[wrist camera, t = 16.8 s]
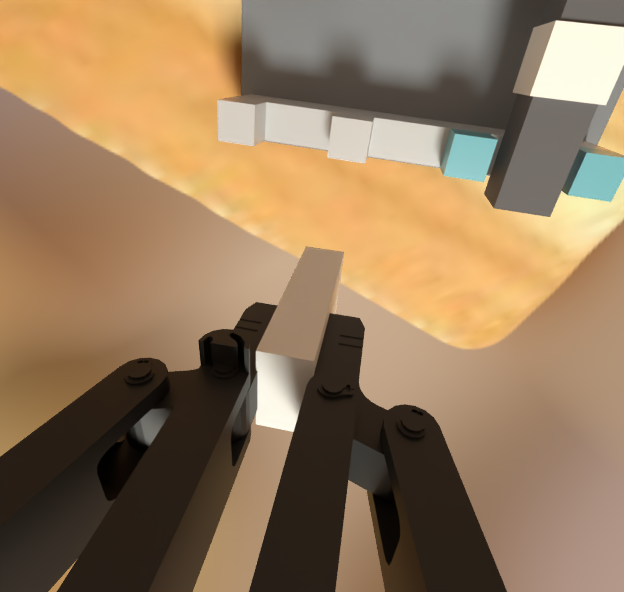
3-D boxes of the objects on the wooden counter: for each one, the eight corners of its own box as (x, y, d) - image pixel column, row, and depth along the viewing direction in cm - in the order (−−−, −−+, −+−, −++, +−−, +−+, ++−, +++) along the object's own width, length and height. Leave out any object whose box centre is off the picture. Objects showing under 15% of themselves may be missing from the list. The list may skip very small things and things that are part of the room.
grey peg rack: (248, -108, 31) (197, -167, 23) (689, -72, 27) (802, -127, 20) (243, 135, 40) (206, 151, 32) (572, 186, 37) (618, 217, 29)
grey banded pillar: (583, -126, 23) (620, -165, 19) (667, -121, 23) (722, -160, 19) (479, 192, 33) (490, 208, 29) (536, 200, 32) (555, 218, 29)
